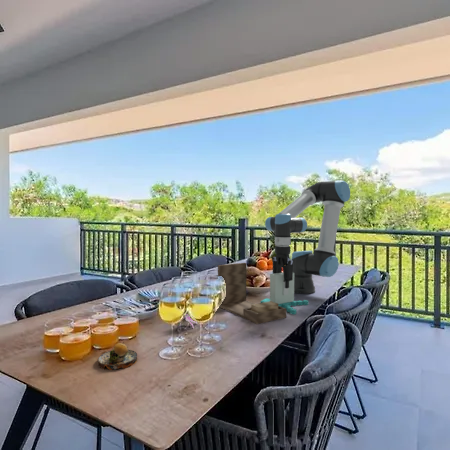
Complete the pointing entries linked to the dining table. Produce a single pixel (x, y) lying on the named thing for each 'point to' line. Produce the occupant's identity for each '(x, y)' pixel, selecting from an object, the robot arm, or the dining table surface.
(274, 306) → the upper offcut
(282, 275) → the sage sheet
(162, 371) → the dining table surface
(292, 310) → the teal pixel art cutout
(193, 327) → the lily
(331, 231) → the robot arm
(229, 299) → the rack
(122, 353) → the small appetizer plate
